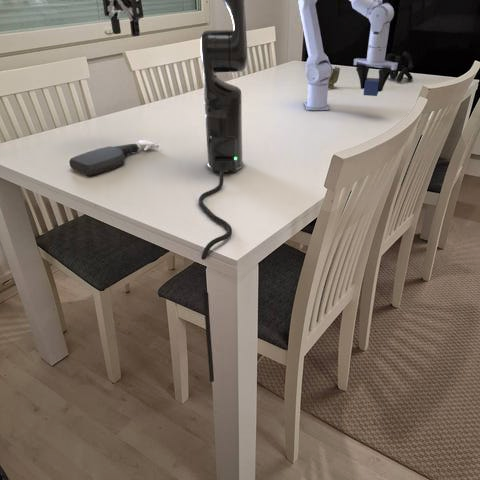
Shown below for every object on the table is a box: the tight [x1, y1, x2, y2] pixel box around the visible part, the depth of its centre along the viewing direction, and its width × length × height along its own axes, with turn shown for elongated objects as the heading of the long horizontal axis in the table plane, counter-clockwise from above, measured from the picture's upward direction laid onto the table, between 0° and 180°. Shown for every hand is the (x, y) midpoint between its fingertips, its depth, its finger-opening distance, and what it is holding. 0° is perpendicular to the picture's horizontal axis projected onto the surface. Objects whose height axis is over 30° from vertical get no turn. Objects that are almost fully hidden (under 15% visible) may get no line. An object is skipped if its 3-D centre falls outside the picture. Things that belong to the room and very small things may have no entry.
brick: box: [363, 77, 379, 97], centre depth 150 cm, size 4×5×5 cm
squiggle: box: [385, 51, 414, 83], centre depth 198 cm, size 11×10×15 cm
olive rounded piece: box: [328, 66, 341, 89], centre depth 188 cm, size 8×7×8 cm
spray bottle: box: [68, 139, 160, 177], centre depth 124 cm, size 3×11×24 cm
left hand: (126, 34), depth 124 cm, fingers open, 8 cm apart
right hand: (371, 89), depth 151 cm, fingers closed on brick, 5 cm apart
